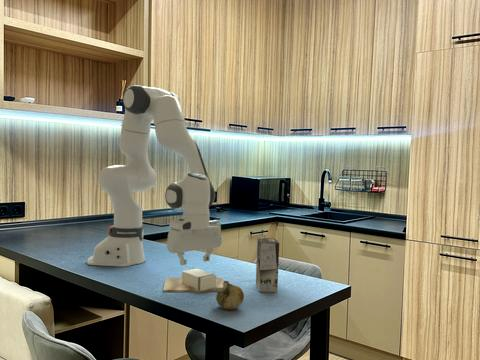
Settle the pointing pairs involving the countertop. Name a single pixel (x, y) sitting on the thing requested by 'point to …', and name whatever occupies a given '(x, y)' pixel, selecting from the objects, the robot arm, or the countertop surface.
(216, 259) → the countertop surface
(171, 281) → the mat
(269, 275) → the coffee box
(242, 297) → the onion
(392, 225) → the countertop surface
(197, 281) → the card box
